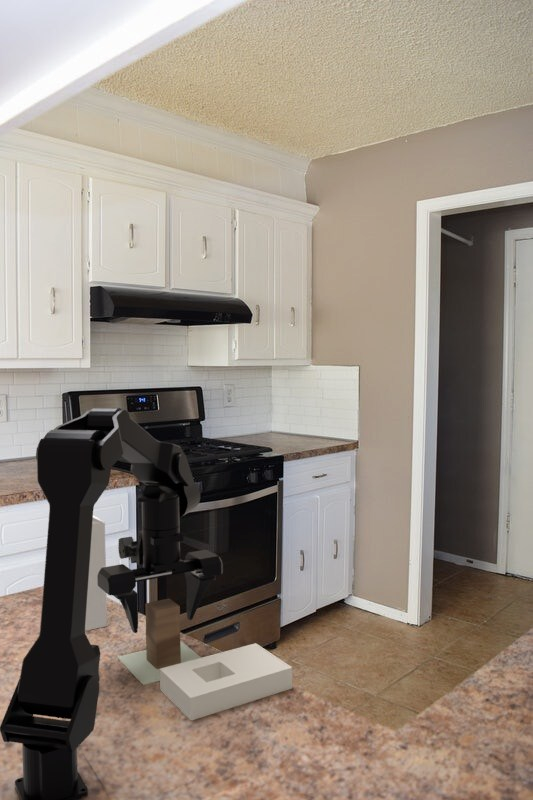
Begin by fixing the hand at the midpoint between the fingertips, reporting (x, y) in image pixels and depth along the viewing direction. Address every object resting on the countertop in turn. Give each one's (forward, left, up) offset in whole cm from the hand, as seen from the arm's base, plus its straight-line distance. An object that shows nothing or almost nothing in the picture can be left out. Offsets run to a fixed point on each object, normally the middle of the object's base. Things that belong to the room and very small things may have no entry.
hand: (162, 625), depth 105 cm
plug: (0, 0, -6) cm, 6 cm away
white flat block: (-13, -4, -6) cm, 15 cm away
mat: (0, 0, -6) cm, 6 cm away
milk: (+23, +5, -6) cm, 24 cm away
